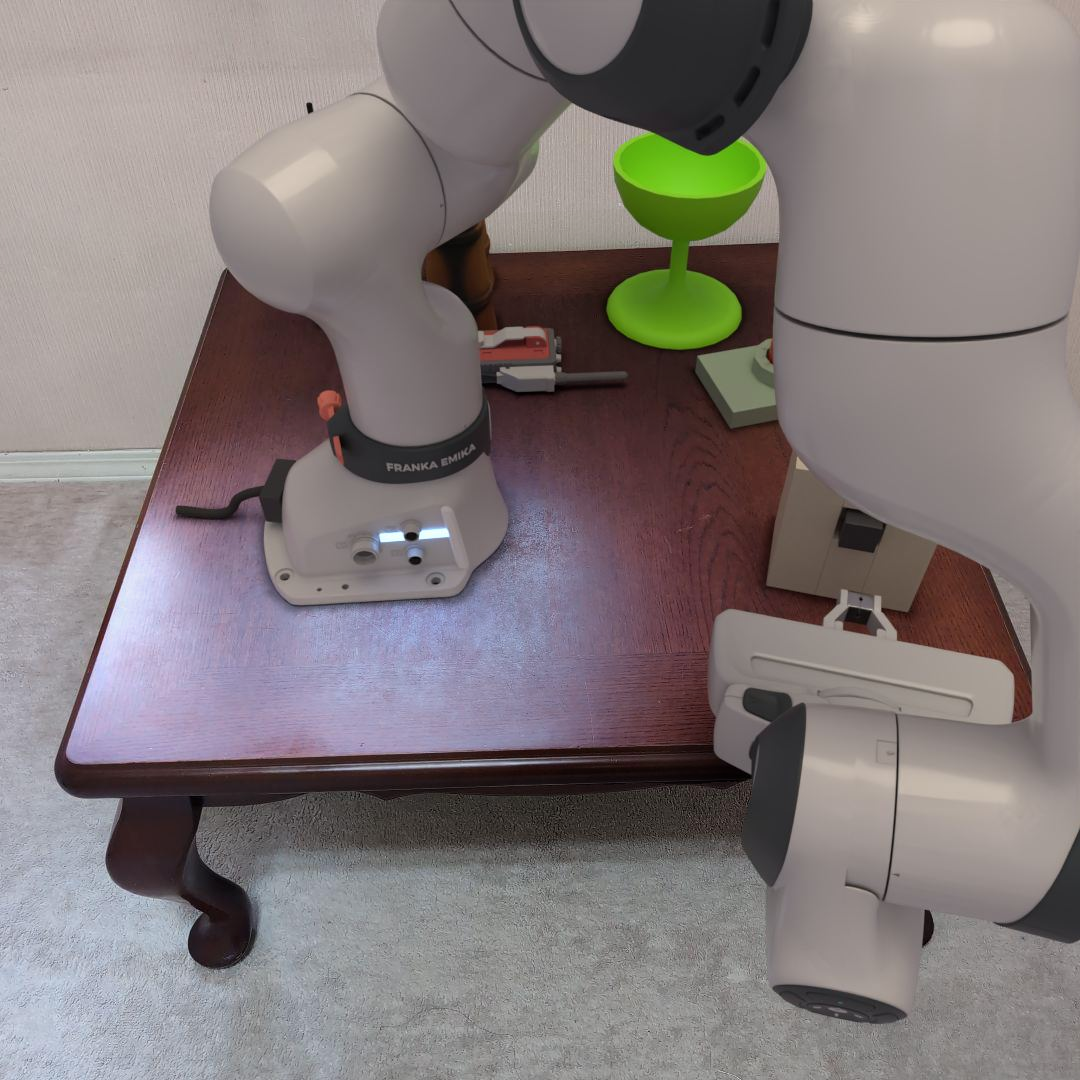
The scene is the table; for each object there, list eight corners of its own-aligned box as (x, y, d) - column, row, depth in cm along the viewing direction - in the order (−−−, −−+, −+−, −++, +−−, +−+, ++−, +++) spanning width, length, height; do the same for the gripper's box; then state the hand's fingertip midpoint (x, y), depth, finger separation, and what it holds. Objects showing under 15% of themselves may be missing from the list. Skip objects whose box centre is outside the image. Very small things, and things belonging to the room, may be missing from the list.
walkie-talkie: (441, 399, 101) (628, 392, 102) (438, 365, 98) (630, 358, 99) (443, 350, 107) (619, 343, 108) (439, 317, 104) (621, 310, 105)
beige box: (765, 585, 83) (796, 464, 73) (774, 522, 88) (804, 400, 78) (907, 612, 81) (960, 491, 70) (908, 546, 86) (957, 423, 76)
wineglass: (589, 284, 116) (593, 139, 103) (710, 265, 119) (730, 120, 106) (631, 359, 106) (642, 208, 93) (764, 336, 108) (793, 185, 95)
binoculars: (428, 265, 120) (411, 103, 105) (493, 262, 120) (485, 101, 105) (425, 351, 107) (405, 181, 93) (498, 348, 108) (490, 178, 93)
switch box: (730, 429, 97) (735, 398, 95) (694, 372, 104) (698, 341, 101) (836, 408, 99) (845, 378, 97) (795, 354, 106) (802, 323, 103)
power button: (837, 547, 76) (845, 522, 74) (839, 529, 77) (846, 505, 75) (873, 553, 75) (882, 529, 73) (874, 535, 77) (883, 511, 75)
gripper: (1039, 768, 57) (1022, 596, 66) (700, 697, 61) (728, 544, 70) (1004, 818, 62) (992, 651, 71) (690, 748, 65) (717, 598, 75)
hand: (858, 597), depth 70 cm, fingers closed
